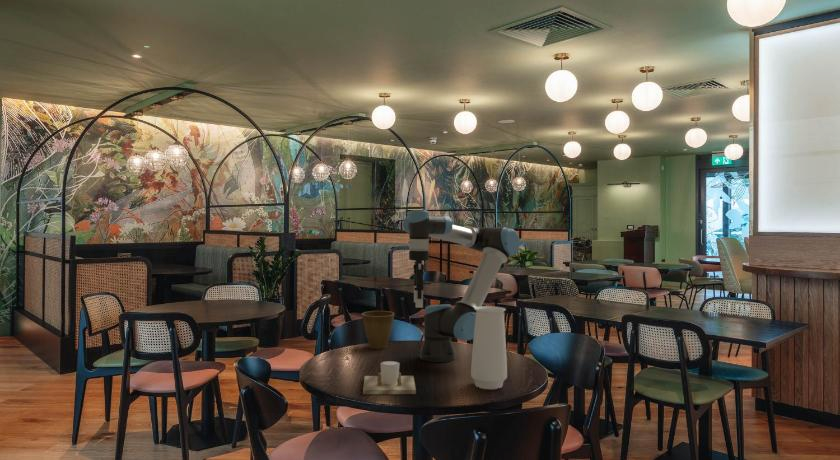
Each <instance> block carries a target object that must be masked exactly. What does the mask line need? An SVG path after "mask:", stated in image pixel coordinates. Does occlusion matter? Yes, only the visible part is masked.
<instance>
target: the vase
mask: <svg viewBox="0 0 840 460" xmlns="http://www.w3.org/2000/svg"><path fill="white" fill-rule="evenodd" d="M474 309H475V310H476V318H475V328H474V339H472V353H471V364H470V365H471V366H470V368H471V369H470V376H471V379H473V381H474V386H475V387H477V388H478V387H479V389H482V390H497V389H498V388H499V389H501V388H503V386H504V382H505V380H506V379H507V378H508V361H507V344H506V343H507V342H506V328H505V327H506V326H505V313H504V312H505V311H506V310H507V309H506V307H501V306H496V305H495V306H493V305H486V306H485V305H482V306H480V307H475V308H474Z"/></svg>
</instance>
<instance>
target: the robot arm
mask: <svg viewBox="0 0 840 460" xmlns="http://www.w3.org/2000/svg"><path fill="white" fill-rule="evenodd" d="M402 227H403V230H404V231H405V232H406V233H408V234H409V235H408V236H409V240H408V241H407V244H409V247H408V248H409V249H410V250H409V251H408V255H409V256H408V260H409V261H414V264H413V277H414V278H413V285H414V286H413V303H415V308H418V309H419V308H421V309H422V308H424V288H425V287H424V271H425V265H424V263H423V261H429V249H430V247H429V246H430V239H429V237H430V238H433V239H439V240H441V241H447V242H449V243H450V242H451V243H455V244H459V245H461V246H462V247H464V248H467V249H471V250H475V251H478V252H481V253H483V256H482V258H481V261H480V263H479V264H478V266H477V268H476V271H475V273H474V274H473V276H472V279H471V280H470V282H469V284H468V286H467V288H466V290H465V293H464V294H463V297H461V300H459V301H456V302H455V304H454V306H453V307H452V304H449V303H447V304H446V303H445V304H444V303H443V304H433V305H432V304H431V305H427V306H426V307H425V308H424V314H423V317H424V318H423V319H424V320H423V322H424V325H423V327H424V328H423V329H424V331H423V332H424V334H423V335H424V338H423V339H424V340H423V343H422V346H421V349H420V353H419V358H420V360H422V361H426V362H431V363H432V362H433V363H445V362H451V361H454V360H456V352H455V349H454V345H453V343H452V338H453V339H455V340H457V339H458V340H460V341H471V340H472V341H473V339H474V328H475V318H476V310H475V309H474V308H475V307H480V306H483V303H484V302H485V300H486V298H487V296H488V294H489V292H490V289H491V287H492V285H493V283H494V281H495V279H496V276H497V274H498V273H499V270H500V269H501V267H502V265H503V264H504V263H507V262H508V260H509V258H510V256H514V255H516V254H517V253H518V252H519V249H520V243H521V241H520V237H519V234H518V233H517V231H516V230H515V229H513V228H510V227H489V226H488V227H473V226H466V227H464V226H460V225H457V224H453V220H452V218H451V217H450V216H448V215H443V214H442V215H430V211H429V210H425V209H418V210H417V209H413V210H410V212H409V215H407V216H406V217H405V218H404V219H403V221H402Z"/></svg>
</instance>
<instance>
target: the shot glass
mask: <svg viewBox="0 0 840 460" xmlns="http://www.w3.org/2000/svg"><path fill="white" fill-rule="evenodd" d="M380 373H381V377H382V383H383V384H387V385H393V384H397V378H398V374H399V373H400V362H398V361H393V360H387V361H382V362H380Z"/></svg>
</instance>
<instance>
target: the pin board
mask: <svg viewBox="0 0 840 460" xmlns="http://www.w3.org/2000/svg"><path fill="white" fill-rule="evenodd" d="M362 388H363V389H362V395H416V393H417V391H416V390H417V389H416V388H417V387H416V383H415V377H414V375H402V373H401V372H399V374H398V378H397V384H393V385H387V384H383V383H382V377H381V372H377V375H364V381H363V387H362Z"/></svg>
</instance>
